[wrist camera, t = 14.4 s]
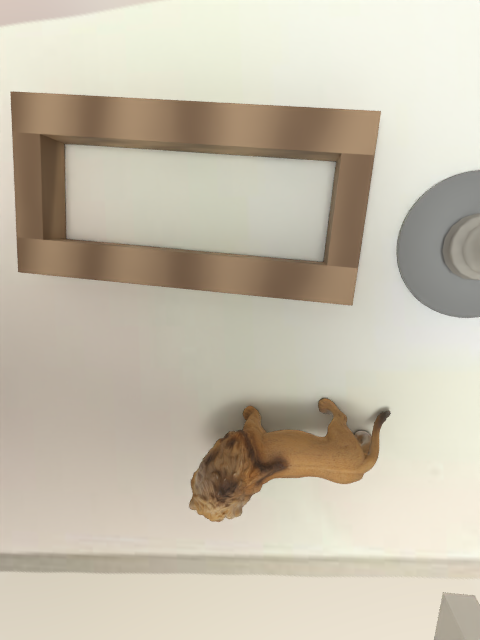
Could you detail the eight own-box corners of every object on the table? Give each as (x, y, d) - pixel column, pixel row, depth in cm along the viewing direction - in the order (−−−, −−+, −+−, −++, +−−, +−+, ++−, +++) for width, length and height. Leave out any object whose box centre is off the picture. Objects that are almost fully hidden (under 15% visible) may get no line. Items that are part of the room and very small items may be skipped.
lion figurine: (219, 469, 34) (195, 551, 25) (201, 413, 33) (170, 477, 24) (394, 437, 32) (435, 515, 23) (380, 375, 31) (418, 432, 22)
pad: (386, 309, 30) (387, 310, 29) (410, 166, 27) (412, 165, 27) (529, 323, 29) (533, 324, 28) (566, 176, 26) (571, 175, 26)
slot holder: (42, 268, 32) (18, 272, 29) (38, 105, 29) (10, 91, 26) (346, 298, 30) (352, 305, 27) (371, 124, 27) (380, 111, 24)
